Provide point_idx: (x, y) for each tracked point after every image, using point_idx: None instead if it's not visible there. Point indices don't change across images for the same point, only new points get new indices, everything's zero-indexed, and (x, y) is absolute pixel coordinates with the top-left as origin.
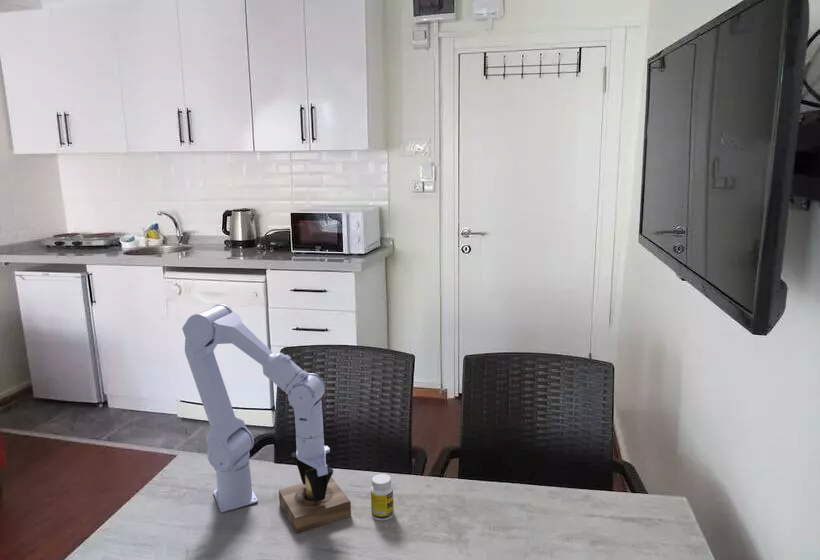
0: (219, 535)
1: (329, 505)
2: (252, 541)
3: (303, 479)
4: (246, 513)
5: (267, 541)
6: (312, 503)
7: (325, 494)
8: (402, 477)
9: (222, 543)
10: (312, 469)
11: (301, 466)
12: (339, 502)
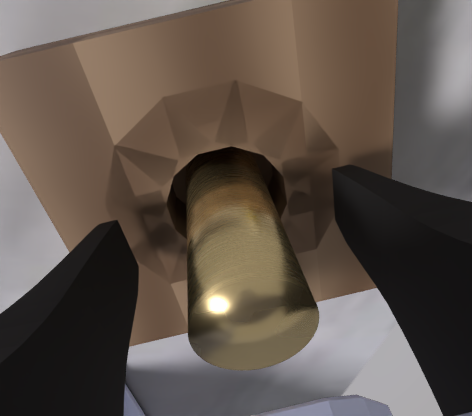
0: (260, 409)
1: (375, 128)
2: (327, 346)
3: (133, 292)
4: (167, 372)
5: (349, 314)
6: (308, 215)
7: (369, 171)
8: None
9: (300, 400)
10: (204, 325)
11: (114, 389)
12: (376, 58)
